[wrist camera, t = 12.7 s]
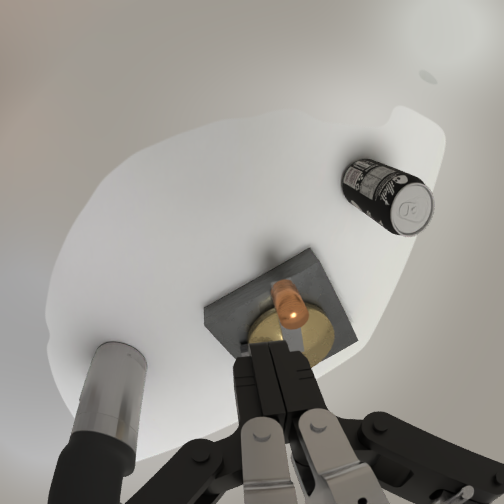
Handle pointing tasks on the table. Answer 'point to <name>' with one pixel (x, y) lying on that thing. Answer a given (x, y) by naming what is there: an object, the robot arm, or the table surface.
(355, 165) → the beverage can
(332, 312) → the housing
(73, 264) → the table surface
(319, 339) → the gold plate with handle
